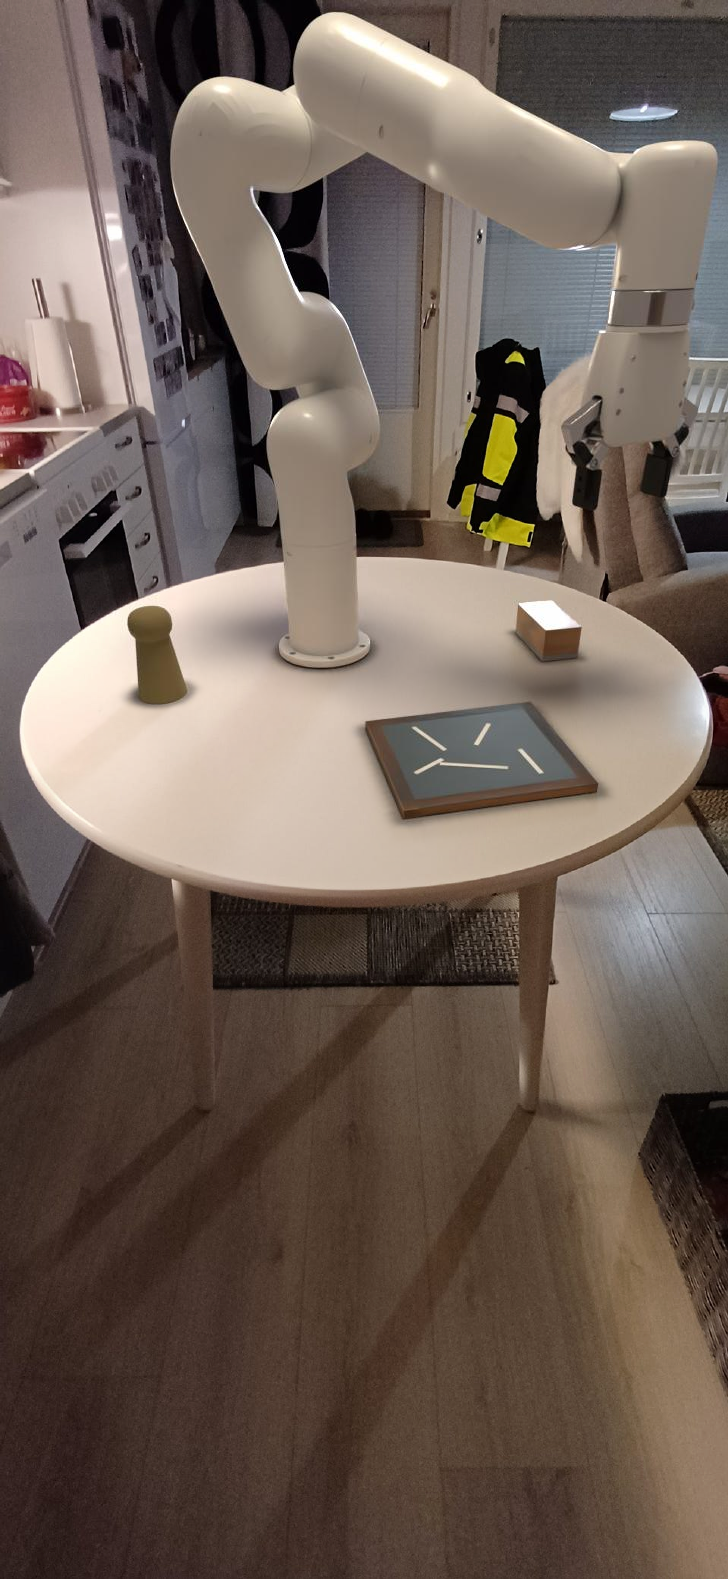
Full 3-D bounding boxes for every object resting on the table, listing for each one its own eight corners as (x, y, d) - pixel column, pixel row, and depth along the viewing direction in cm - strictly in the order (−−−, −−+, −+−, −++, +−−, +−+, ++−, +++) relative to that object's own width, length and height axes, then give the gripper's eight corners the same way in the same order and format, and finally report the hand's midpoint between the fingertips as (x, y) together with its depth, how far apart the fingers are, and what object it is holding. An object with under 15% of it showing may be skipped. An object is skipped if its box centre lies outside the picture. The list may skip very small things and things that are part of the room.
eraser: (515, 633, 111) (518, 603, 108) (548, 629, 112) (551, 600, 109) (542, 661, 103) (545, 630, 100) (577, 657, 104) (582, 626, 101)
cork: (175, 705, 95) (160, 620, 88) (130, 702, 96) (111, 617, 89) (194, 683, 99) (181, 601, 93) (150, 680, 101) (134, 599, 94)
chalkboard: (365, 728, 89) (365, 720, 88) (529, 708, 92) (530, 701, 91) (403, 818, 74) (403, 810, 74) (597, 791, 77) (598, 783, 77)
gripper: (683, 307, 79) (652, 483, 88) (550, 316, 72) (532, 505, 82) (745, 309, 73) (705, 497, 83) (606, 319, 67) (580, 521, 76)
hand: (619, 501), depth 82 cm, fingers open, 9 cm apart
